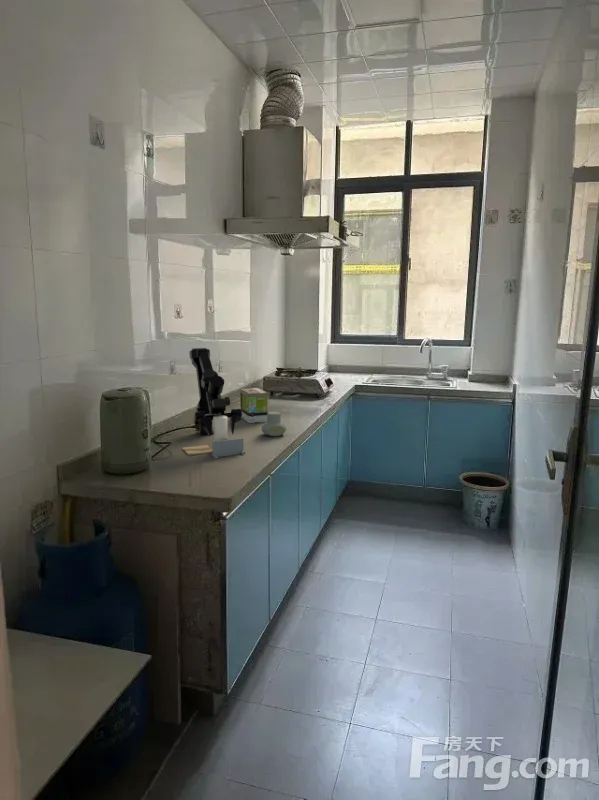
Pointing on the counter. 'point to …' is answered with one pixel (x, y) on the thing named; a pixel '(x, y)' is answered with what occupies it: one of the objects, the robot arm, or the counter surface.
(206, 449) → the mat
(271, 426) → the air freshener
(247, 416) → the tea box
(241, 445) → the screen
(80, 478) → the counter surface
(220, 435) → the canister
